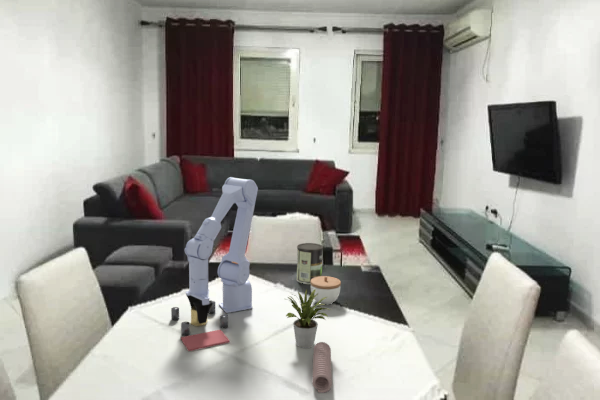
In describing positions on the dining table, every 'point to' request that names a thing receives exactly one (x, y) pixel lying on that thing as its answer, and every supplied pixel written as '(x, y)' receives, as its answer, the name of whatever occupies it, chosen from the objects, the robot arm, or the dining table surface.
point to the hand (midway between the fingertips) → (199, 318)
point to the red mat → (204, 340)
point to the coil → (322, 367)
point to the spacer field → (186, 325)
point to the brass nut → (195, 318)
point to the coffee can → (309, 262)
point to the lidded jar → (325, 288)
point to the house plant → (306, 320)
